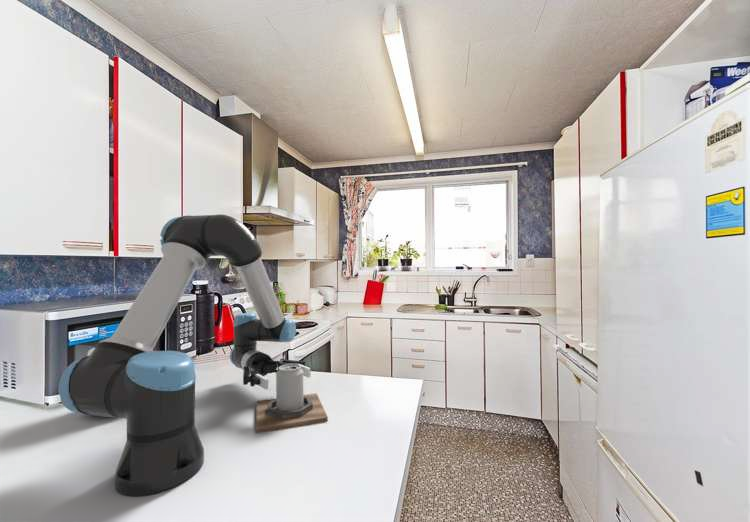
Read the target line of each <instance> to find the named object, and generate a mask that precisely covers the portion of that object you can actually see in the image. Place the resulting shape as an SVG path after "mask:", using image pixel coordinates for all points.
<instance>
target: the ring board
mask: <svg viewBox="0 0 750 522" xmlns="http://www.w3.org/2000/svg"><path fill="white" fill-rule="evenodd" d="M255 419H256V423H255V424H256V425H255V427H256V429H255V431H256V432H255V433H262V432H269V431H274V430H275V431H276V430H281V429H286V428H292V427H298V426H305V425H310V424H312V425H313V424H316V423H321V422H322V423H323V422H327V421H328V419H329V417H328V415H327V412H326V411H325V408H324V406H323V404H322V402H321V400H320V398H319V396H318V393H316V392H315V393H307V394H303V406H302V407H301V408H300V409H299V410H292V411H285V412H283V411H279V410H278V409H277V407H276V398H271V399H270V398H269V399H264V400H263V399H262V400H256V418H255Z"/></svg>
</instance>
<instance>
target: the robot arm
mask: <svg viewBox="0 0 750 522" xmlns="http://www.w3.org/2000/svg"><path fill="white" fill-rule="evenodd" d="M160 237H161V239H160V240H159V241H160V242H159V243H160V244H161V247H160V251H161V254H162V255H163V256H162V257H161V259H160V260H159V261H158V264H157V265H156V267H155V268H154V270H153V271H152V273H151V274H150V275H149V277H148V279H147V281H146V283H145V284H144V286H143V287H142V289H141V290H140V291H139V294H138V295H137V297H136V298H135V300H134V301H133V302H132V304H131V305H130V307H129V309H128V310H127V312H126V314H125V315H124V317H123V318H122V320H121V321H120V323H119V325H118V326H117V328H116V329H115V331H114V332H113V334H112V336H110V337H108V338H105V339H102V340H99V341H98V343H97V344H96V346H95V347H94V348H95V349H94V350H93V352H92V353H91V355H89V356H87V355H84V356H83V357H81V358H78V359H76V360H74V361H73V362H72V363H70V364H68V366H67V368H66V369H65V370H64V372H63V374H62V375H61V378H60V380H59V383H58V396H59V397H60V402H61V403H62V405H63V406H64V407H65V408H66V409H67V410H69V411H71V412H73V413H77V414H81V415H84V416H88V417H94V416H98V417H108V418H116V419H125V420H126V441H125V445H124V448H123V450H122V453H121V456H120V459H119V461H118V464H117V467H116V469H115V473H114V487H115V490H116V491H117V492H118V493H120V494H121V495H125V496H129V497H132V496H133V497H135V496H136V497H140V496H141V497H142V496H147V495H151V494H152V495H153V494H157V493H161V492H163V491H166V490H169V489H172V488H175V487H177V486H179V485H180V484H182V483H184V482H186V481H188V480H189V479H190V478H193V477H194V475H196V473H198V472H199V471H200V470H201V468H202V466H204V462H205V449H204V446H203V443H202V441H201V439H200V435H199V433H198V431H197V428H196V426H195V425H196V424H195V423H196V421H195V418H196V417H195V415H196V412H195V409H196V379H197V378H196V377H197V376H196V370H195V362H194V361H195V360H194V359H193V357H192V356H190V355H189V354H187V353H186V352H181V351H176V350H153V349H154V348H155V346H156V345H157V342H158V340H159V339H160V337H161V335H162V333H163V331H164V330H165V327H166V326H167V323H168V322H169V320H170V318H171V316H172V315H173V312H174V311H175V309H176V307H177V306H178V305H179V304H178V303H179V302H180V300H181V299H182V296H183V294H184V293H185V291H186V289H187V287H188V285H189V284H190V282H191V280H192V278H193V276H194V274H195V272H196V270H197V271H198V270H200V269H204V267H205V266H206V265H207V263H208V261H209V260H210V258H211V257H215V256H216V257H218V256H219V257H221V256H222V257H224V258H225V259H226V260H227V261H228V263H229V265H230V266H231V267H233V268H235V270H236V271H237V273H238V276H239V277H240V280H241V283H242V285H243V286H244V288H245V291H246V292H247V294H248V297H249V299H250V302H251V304H252V306H253V308H254V309H255V311H256V313H253V312H244V313H243V312H242V313H238V314H236V315H235V316H234V321H233V348H232V350H230V354H229V360H230V362H231V363H232V364H233V365H234V367H236V368H239V369H242V371H243V375H242V376H243V377H242V379H243V380H242V382H243V384H242V385H243V386H245V385H246V386H247V385H248V384H249V383H250V384H249V385H250V387H255V386H259V387H261V388H262V389H264V390H269V378H267V377H265V376H267V375H268V374H274V373H275V374H276V373H277V372H278V370H279V369H278V368H279V367H280V366H282V365H286V364H299V365H300V366H301V369H302V370H303V377H306V378H311V373H312V372H311V368H310V367H308V366H306V361H302V360H293V359H292V360H291V359H285V358H280V360H274V359H272V357H271V356H270V354H267V353H264V352H262V351H259V350H257V342H268V343H269V342H271V343H272V342H273V343H290V342H292V341H293V340H295V339H294V338H295V337H296V333H297V325H296V323H295V321H293V320H289V319H286V318H285V315H284V313H283V310H282V308H281V305H280V303H279V300H278V298H277V296H276V293H275V291H274V288H273V285H272V283H271V281H270V278H269V275H268V273H267V271H266V267H265V266H264V263H263V260H262V256H263V250H262V248H261V246H260V244H259V242H258V240H257V237H255V235H254V234H253V233H252V231H250V229H249V228H248V227H247V226H246V225H245V224H243V223H242V222H241V221H240V220H238V219H237V218H235V217H233V216H231V215H227V214H208V215H206V214H205V215H182V216H177V217H173V218H171V219H169V220H168V221H166V223H165V224H164V225H163V227H162V229H161V232H160ZM257 316H258V317H257Z"/></svg>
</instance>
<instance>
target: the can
mask: <svg viewBox="0 0 750 522" xmlns="http://www.w3.org/2000/svg"><path fill="white" fill-rule="evenodd" d="M278 369H279V370H278ZM277 370H278V372H277V373H275V383H276V384H275V385H276V386H275V390H276V393H275V395H276V398H275V399H276V407H277V409H278V410H279V411H283V412H285V411H292V410H299V409H300V408H301V407H302V406H303V395H304V376H303V370H302V369H301V366H300V365H299V364H286V365H282V366H280V367H279V368H278V367H277Z"/></svg>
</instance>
